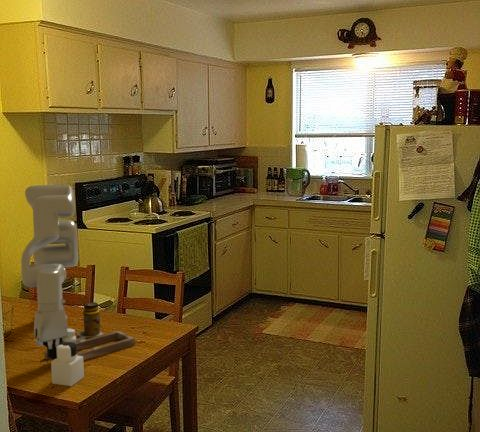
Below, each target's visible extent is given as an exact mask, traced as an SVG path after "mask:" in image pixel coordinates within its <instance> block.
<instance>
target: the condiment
mask: <svg viewBox="0 0 480 432" xmlns="http://www.w3.org/2000/svg"><path fill="white" fill-rule="evenodd" d="M83 307H84V308H83V329H84V330H83V331H82V330H81V331H78V332H77V331H75V334H77V336H79V338H82V337H83V338H85V339H87V338H94V337H98V336H101V335H104V333H103V332H102V331H101V318H100V317H101V316H100V315H101V314H100V309H99V304H98V302H95V301H94V302H93V301H92V302H85V304H84V305H83Z"/></svg>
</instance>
